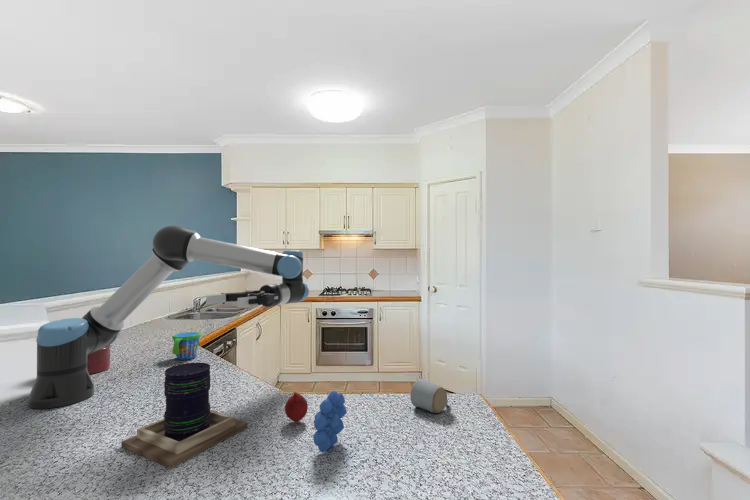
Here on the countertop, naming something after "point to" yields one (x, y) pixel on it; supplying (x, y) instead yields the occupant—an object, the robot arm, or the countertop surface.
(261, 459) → the countertop surface
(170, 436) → the dark blue barrel
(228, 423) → the base board
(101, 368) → the canister
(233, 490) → the countertop surface
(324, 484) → the countertop surface
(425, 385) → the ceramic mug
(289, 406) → the onion
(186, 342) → the snack cup
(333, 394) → the grapes
